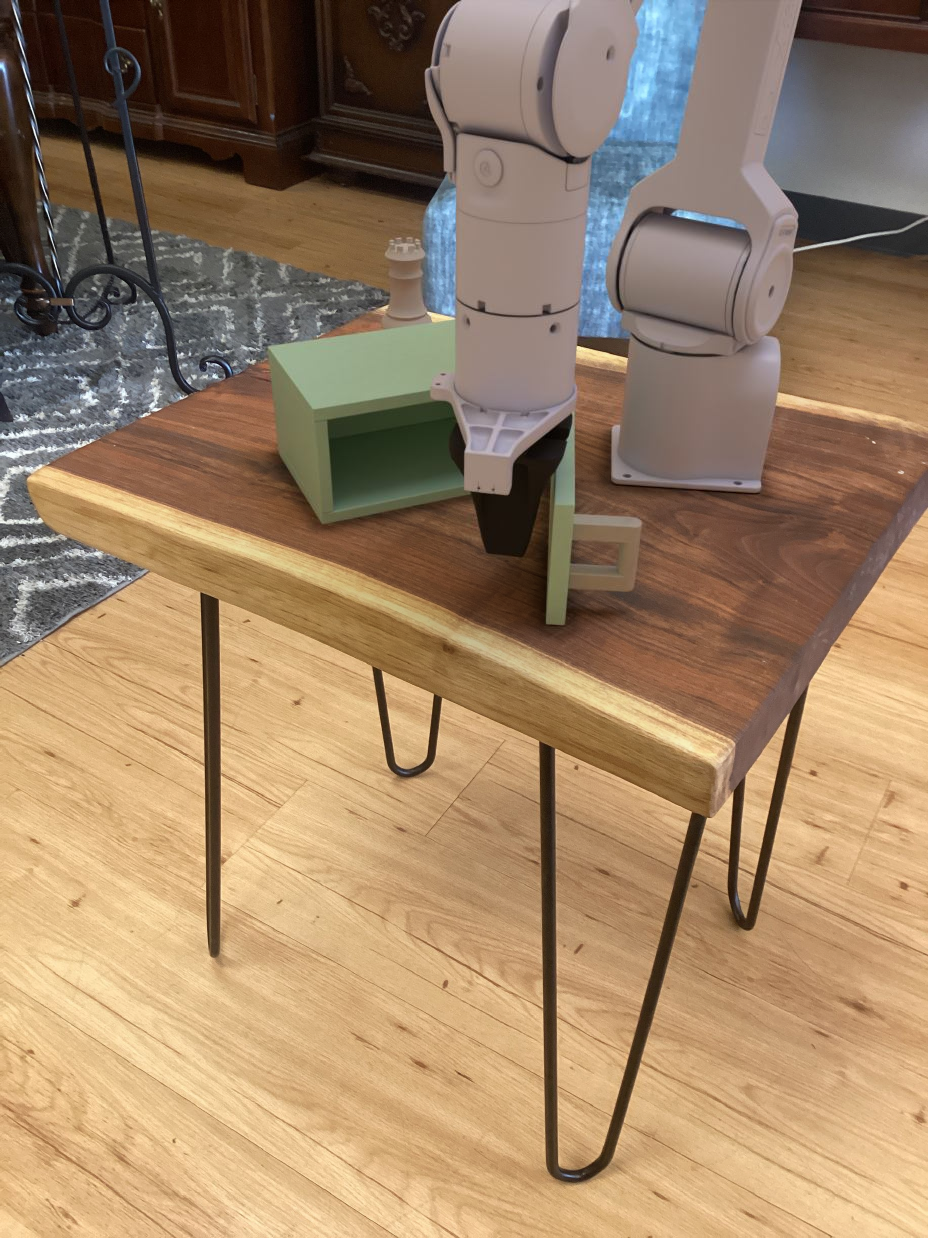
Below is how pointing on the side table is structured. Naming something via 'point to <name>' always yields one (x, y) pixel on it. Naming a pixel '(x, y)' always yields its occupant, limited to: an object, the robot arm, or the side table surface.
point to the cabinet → (366, 419)
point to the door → (584, 529)
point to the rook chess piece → (405, 285)
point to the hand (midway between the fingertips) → (506, 548)
